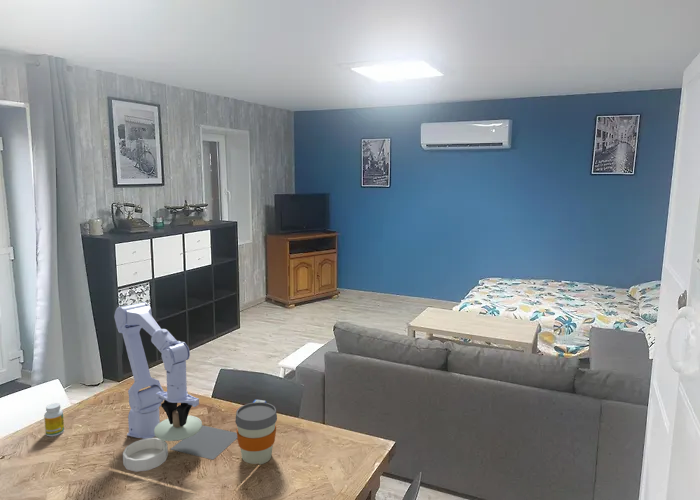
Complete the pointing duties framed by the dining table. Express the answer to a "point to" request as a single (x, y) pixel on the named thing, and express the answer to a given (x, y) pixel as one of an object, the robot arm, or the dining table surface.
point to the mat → (206, 442)
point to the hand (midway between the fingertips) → (178, 423)
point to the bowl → (145, 454)
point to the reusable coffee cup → (256, 431)
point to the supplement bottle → (54, 420)
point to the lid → (177, 428)
